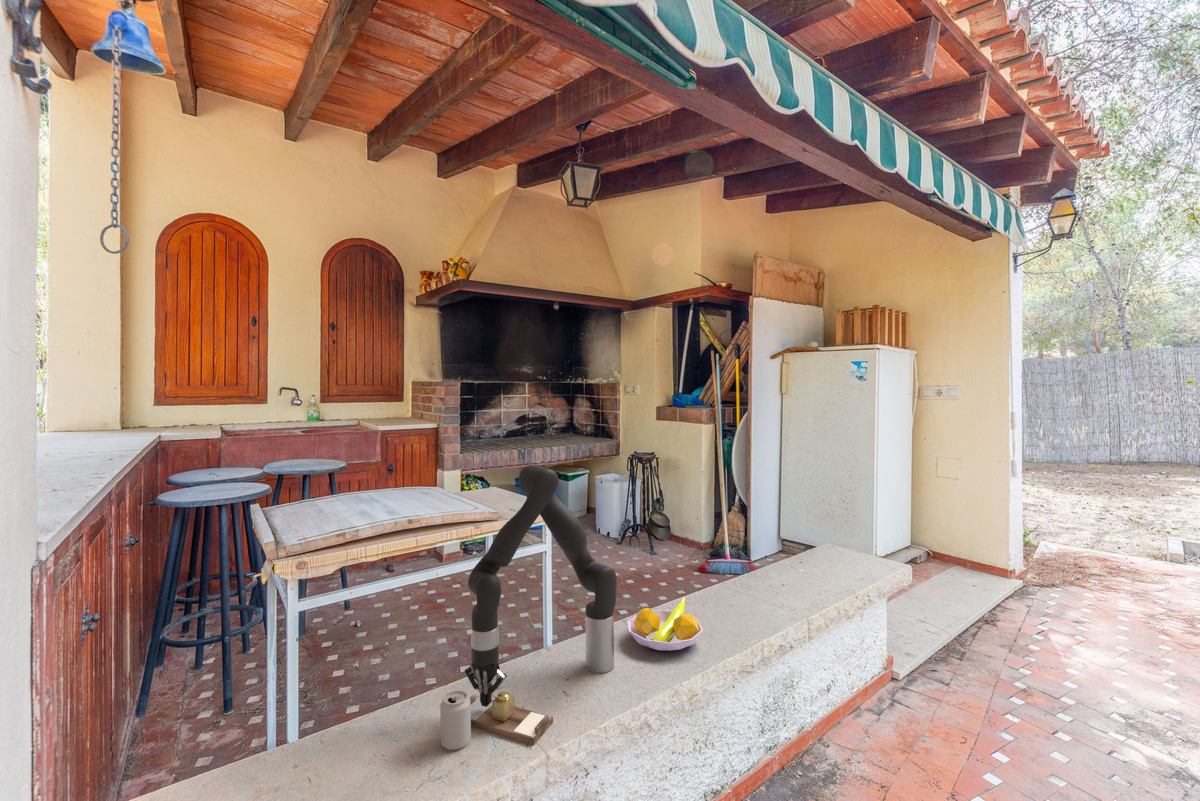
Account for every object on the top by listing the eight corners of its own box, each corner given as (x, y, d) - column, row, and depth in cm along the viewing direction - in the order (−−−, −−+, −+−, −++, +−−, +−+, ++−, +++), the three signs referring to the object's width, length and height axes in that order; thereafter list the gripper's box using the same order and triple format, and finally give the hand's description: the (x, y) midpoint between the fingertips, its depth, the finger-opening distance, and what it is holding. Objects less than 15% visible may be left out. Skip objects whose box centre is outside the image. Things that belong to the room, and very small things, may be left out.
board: (477, 701, 155) (476, 691, 155) (553, 722, 145) (552, 711, 145) (454, 721, 146) (454, 710, 146) (534, 744, 136) (534, 733, 136)
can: (435, 742, 137) (434, 696, 137) (461, 729, 142) (461, 684, 142) (449, 756, 132) (449, 708, 131) (476, 742, 137) (476, 696, 137)
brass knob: (502, 707, 148) (502, 688, 148) (514, 711, 147) (514, 691, 147) (492, 718, 144) (491, 697, 144) (504, 721, 142) (504, 701, 142)
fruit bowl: (664, 668, 173) (663, 633, 172) (612, 637, 195) (612, 606, 194) (722, 643, 189) (722, 612, 189) (669, 617, 211) (668, 589, 211)
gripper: (512, 641, 148) (513, 703, 148) (473, 633, 153) (474, 692, 154) (497, 653, 141) (498, 718, 142) (457, 644, 147) (457, 706, 147)
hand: (485, 704), depth 148 cm, fingers closed
